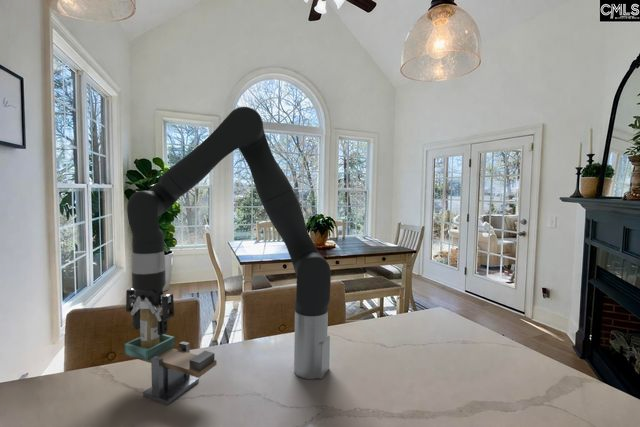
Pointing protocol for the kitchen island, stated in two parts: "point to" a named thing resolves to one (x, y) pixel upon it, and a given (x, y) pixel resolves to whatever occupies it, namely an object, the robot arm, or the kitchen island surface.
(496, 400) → the kitchen island surface
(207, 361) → the beam
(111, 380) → the kitchen island surface
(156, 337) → the sprinkles bottle
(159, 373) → the fulcrum stand
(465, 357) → the kitchen island surface
